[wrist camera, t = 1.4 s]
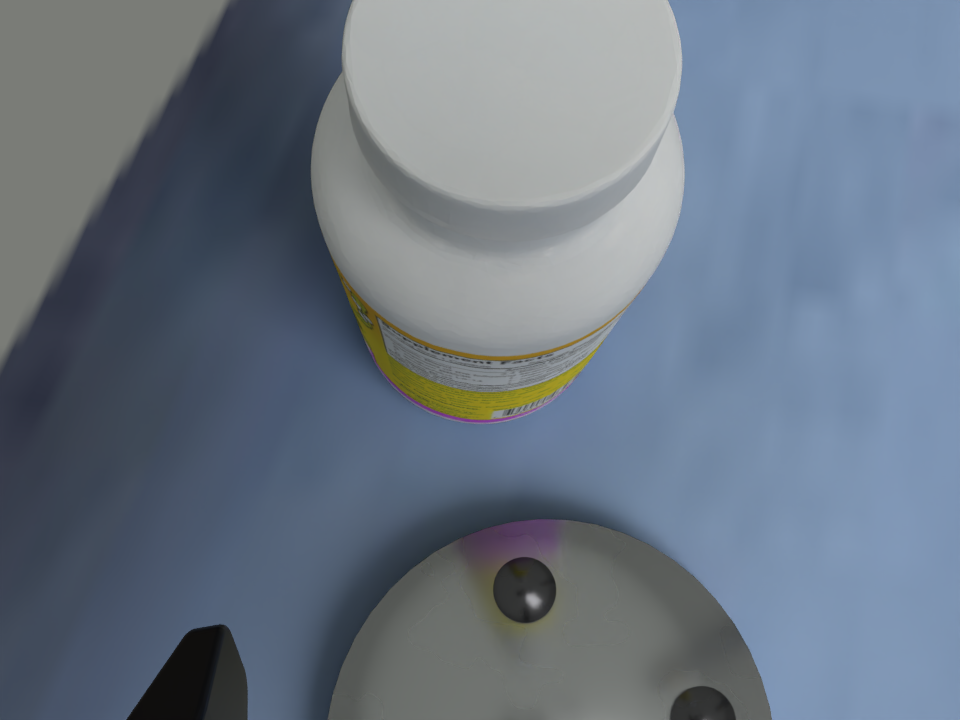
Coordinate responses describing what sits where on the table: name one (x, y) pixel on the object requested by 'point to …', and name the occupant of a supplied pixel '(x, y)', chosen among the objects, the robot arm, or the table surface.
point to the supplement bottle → (498, 188)
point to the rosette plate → (548, 636)
